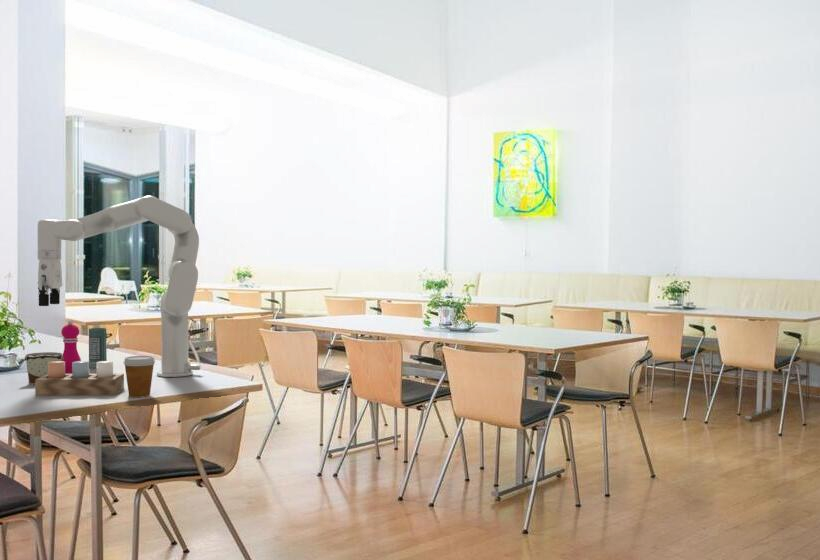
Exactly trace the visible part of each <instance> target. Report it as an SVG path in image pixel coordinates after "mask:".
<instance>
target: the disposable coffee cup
mask: <svg viewBox="0 0 820 560" xmlns="http://www.w3.org/2000/svg"><path fill="white" fill-rule="evenodd" d="M155 362H156V360H155V357H154V356H152V355H134V356H127V357H124V361H123V362H122V363H123V365H124V367H125V368H124V369H125V377H126V384H127V392H128V396H129V397H131V398H144V397H146V398H147V397H149V396H151V388H152V382H153V372H154V365H155Z"/></svg>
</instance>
